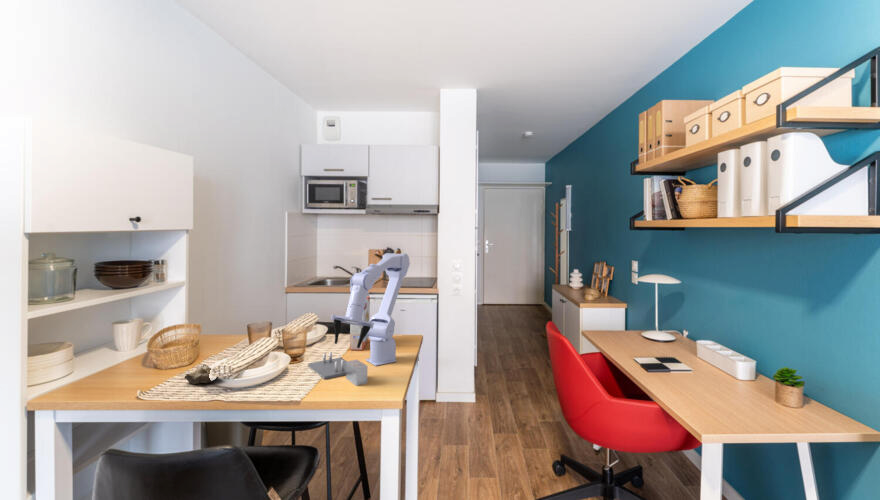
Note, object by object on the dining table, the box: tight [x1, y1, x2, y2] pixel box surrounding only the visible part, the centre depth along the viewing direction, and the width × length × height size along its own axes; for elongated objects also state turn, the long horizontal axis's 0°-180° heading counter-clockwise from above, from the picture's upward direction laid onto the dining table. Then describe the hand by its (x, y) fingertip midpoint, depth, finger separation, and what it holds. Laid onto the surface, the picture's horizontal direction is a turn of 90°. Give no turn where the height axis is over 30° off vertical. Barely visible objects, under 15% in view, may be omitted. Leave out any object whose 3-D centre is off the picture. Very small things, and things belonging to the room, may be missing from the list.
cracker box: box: [349, 295, 371, 351], centre depth 178 cm, size 14×6×21 cm, turn 179°
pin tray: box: [307, 351, 348, 381], centre depth 149 cm, size 13×16×4 cm
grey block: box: [345, 359, 368, 387], centre depth 138 cm, size 4×8×6 cm, turn 37°
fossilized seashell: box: [184, 363, 213, 385], centre depth 135 cm, size 8×7×10 cm
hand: (347, 345), depth 138 cm, fingers open, 7 cm apart
